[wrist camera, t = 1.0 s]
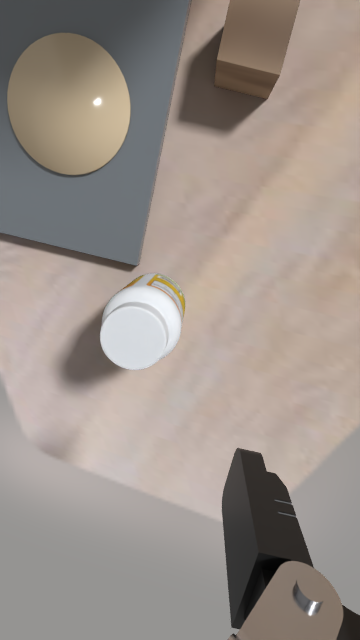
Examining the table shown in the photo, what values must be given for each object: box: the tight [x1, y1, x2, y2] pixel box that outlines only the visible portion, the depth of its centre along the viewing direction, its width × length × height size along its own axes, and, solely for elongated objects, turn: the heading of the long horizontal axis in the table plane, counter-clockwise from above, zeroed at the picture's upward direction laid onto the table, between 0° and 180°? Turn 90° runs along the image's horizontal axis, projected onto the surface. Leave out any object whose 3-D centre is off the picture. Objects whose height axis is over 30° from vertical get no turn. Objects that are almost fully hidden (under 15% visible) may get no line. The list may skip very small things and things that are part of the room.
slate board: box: [0, 0, 191, 266], centre depth 24 cm, size 20×14×1 cm
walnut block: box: [214, 0, 300, 99], centre depth 22 cm, size 4×4×4 cm
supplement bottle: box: [100, 273, 185, 370], centre depth 24 cm, size 5×5×10 cm
